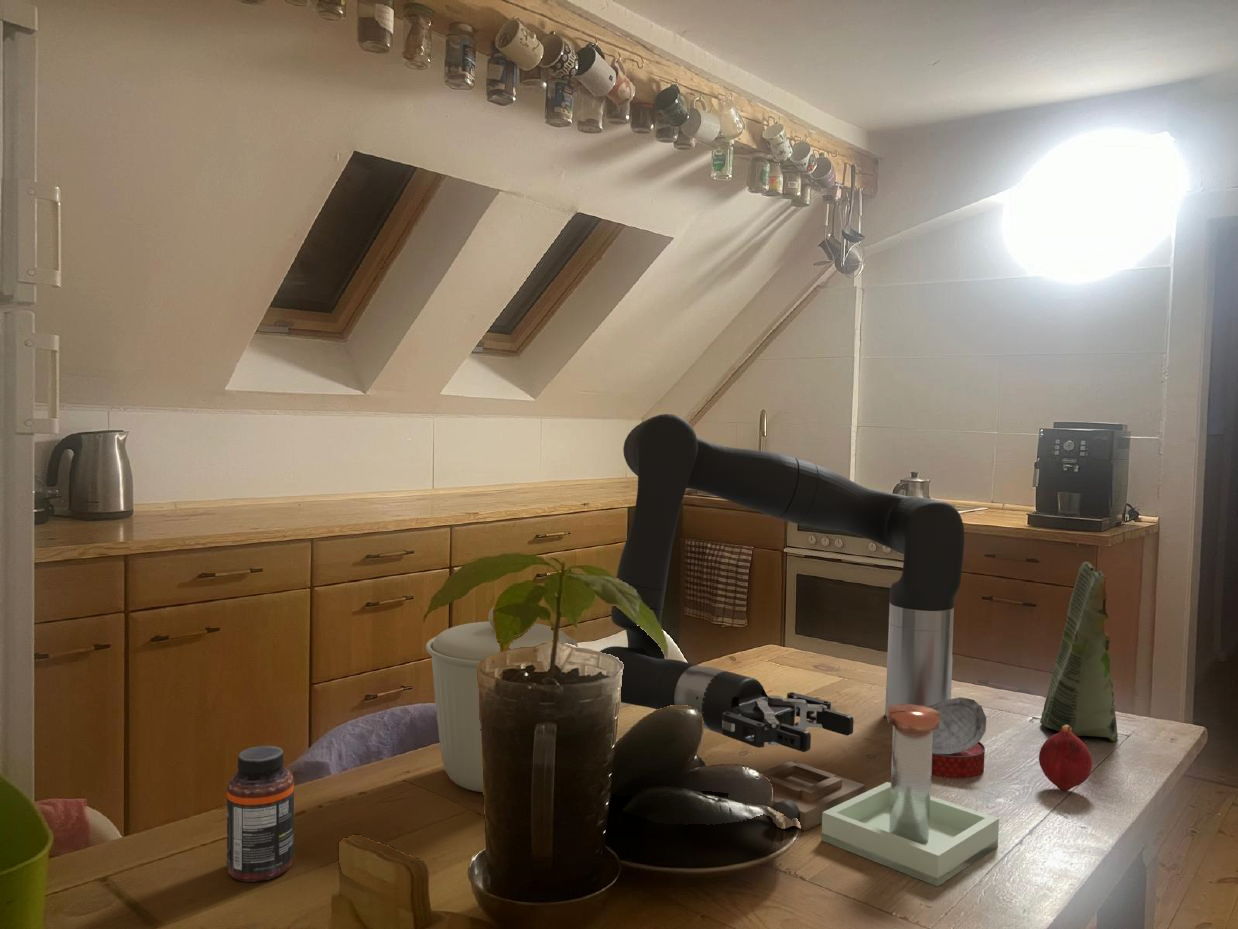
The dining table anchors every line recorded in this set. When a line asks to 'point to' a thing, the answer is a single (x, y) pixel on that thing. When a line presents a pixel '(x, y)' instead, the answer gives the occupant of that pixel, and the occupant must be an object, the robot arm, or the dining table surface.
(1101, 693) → the pouch
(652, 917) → the dining table surface
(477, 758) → the canister
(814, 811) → the brown socket base
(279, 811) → the supplement bottle
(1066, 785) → the onion
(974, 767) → the canned food
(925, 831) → the pin
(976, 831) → the tray
